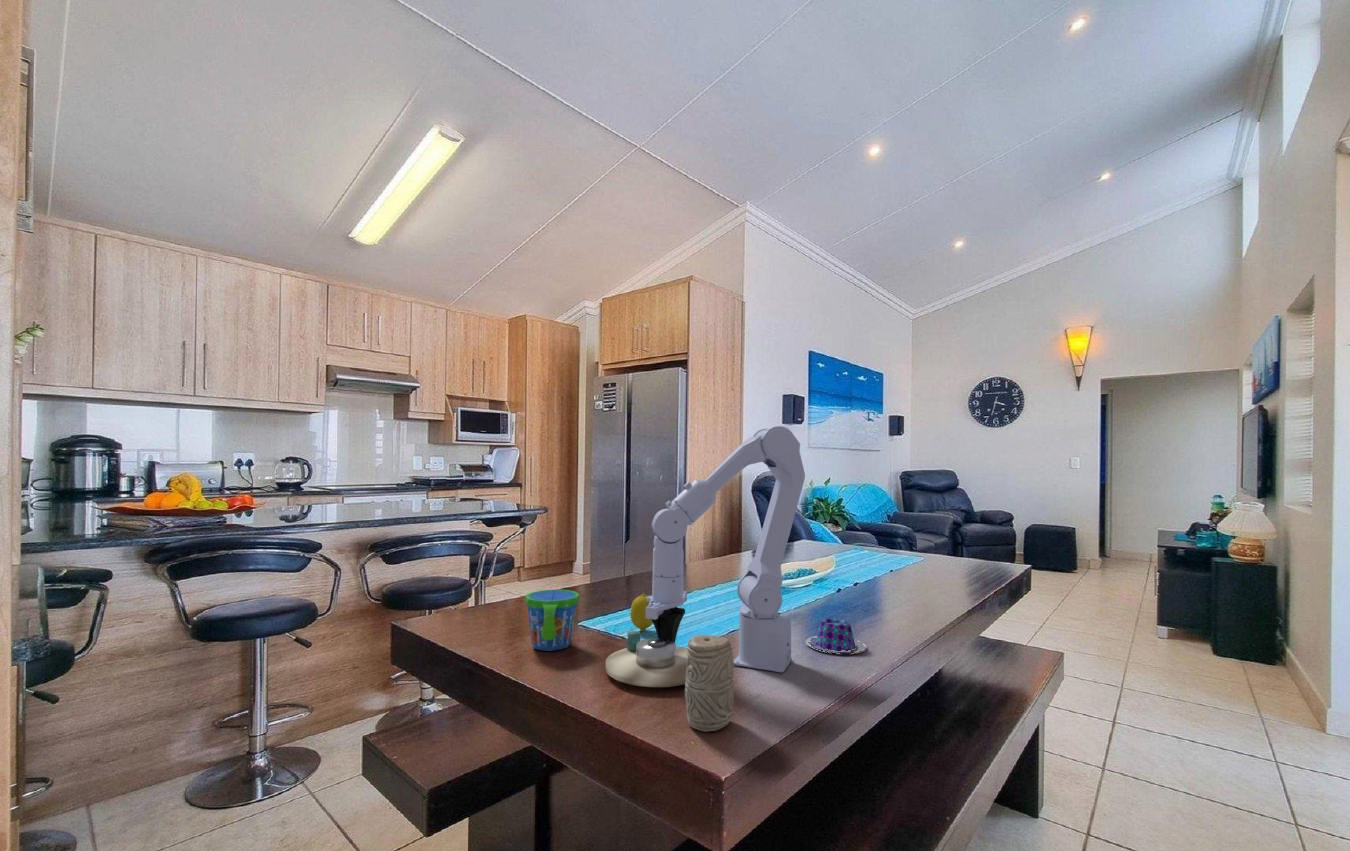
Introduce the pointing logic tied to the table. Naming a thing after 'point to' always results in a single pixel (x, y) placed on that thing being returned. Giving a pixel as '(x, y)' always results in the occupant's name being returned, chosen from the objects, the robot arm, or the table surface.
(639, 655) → the cover
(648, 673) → the turntable
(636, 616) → the lemon
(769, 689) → the table surface
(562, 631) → the snack cup
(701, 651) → the carving
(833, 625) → the polka dot fedora
